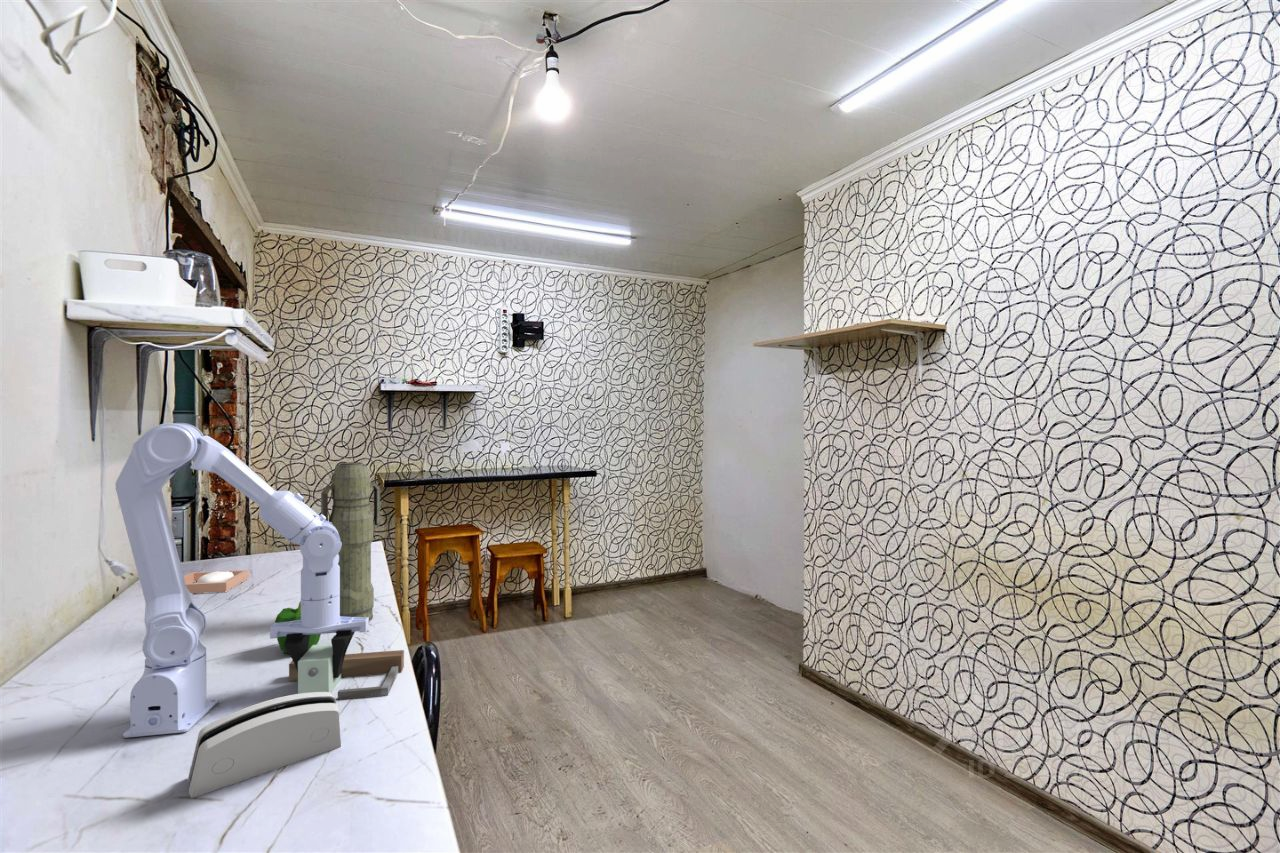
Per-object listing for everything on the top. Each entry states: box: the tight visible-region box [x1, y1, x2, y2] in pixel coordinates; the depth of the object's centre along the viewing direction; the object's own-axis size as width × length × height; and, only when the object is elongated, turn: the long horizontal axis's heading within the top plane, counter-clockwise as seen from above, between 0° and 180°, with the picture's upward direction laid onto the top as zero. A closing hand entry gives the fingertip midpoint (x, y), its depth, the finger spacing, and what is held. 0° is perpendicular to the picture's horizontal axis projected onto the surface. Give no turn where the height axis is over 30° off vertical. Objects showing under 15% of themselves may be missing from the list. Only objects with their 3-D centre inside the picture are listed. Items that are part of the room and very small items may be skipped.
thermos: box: [320, 461, 381, 622], centre depth 129 cm, size 9×12×35 cm
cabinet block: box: [297, 643, 342, 694], centre depth 96 cm, size 8×4×6 cm, turn 12°
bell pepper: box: [274, 600, 322, 654], centre depth 112 cm, size 8×8×10 cm
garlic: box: [196, 570, 234, 583], centre depth 155 cm, size 8×7×4 cm
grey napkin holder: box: [187, 692, 342, 799], centre depth 75 cm, size 17×5×10 cm, turn 132°
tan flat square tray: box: [183, 569, 250, 593], centre depth 154 cm, size 13×14×2 cm
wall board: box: [288, 649, 405, 701], centre depth 98 cm, size 11×18×3 cm, turn 102°
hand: (320, 676), depth 97 cm, fingers closed on cabinet block, 4 cm apart
